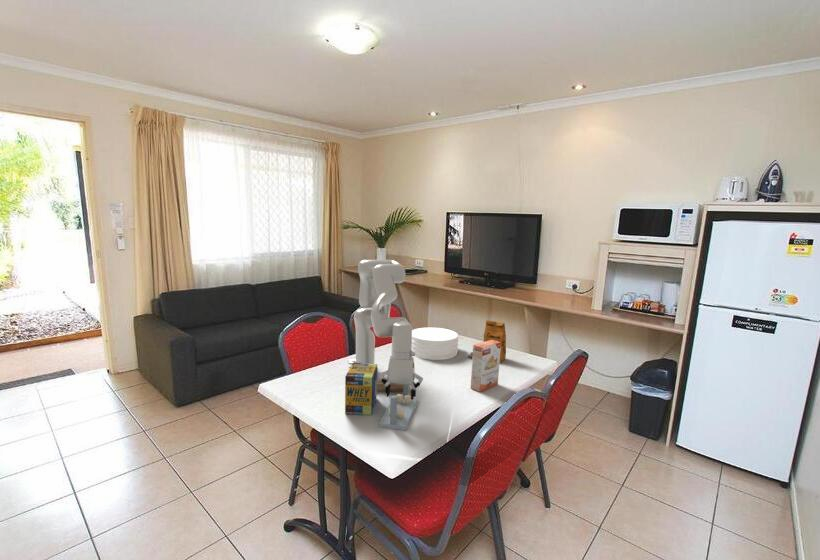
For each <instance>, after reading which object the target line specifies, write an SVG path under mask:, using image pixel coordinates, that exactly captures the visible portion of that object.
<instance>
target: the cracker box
mask: <svg viewBox="0 0 820 560" xmlns="http://www.w3.org/2000/svg"><path fill="white" fill-rule="evenodd" d="M472 346H473V347H472V352H473V359H471V373H470V374H471V375H470V376H471V377H470V389H471V390H474V391H477V392H478V393H481V392H483V391H486V390H488V389H491V388H492V387H495V386H498V384H499V372H500V371H499V370H500V350H501V342H498V341H494V340H489V341H485V342H484V341H482V342H478V343H476V344H473V345H472Z"/></svg>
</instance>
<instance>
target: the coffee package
mask: <svg viewBox="0 0 820 560" xmlns="http://www.w3.org/2000/svg"><path fill="white" fill-rule="evenodd" d="M489 340H494V341H498V342H501V350H500V362H501V363H502V362H505V361H506V358H507V357H506V356H507V335H506V324H505V322H499V321H493V320H487V319H486V320H485V326H484V333H483V342H485V341H489ZM504 360H505V361H504ZM500 362H499V363H500Z"/></svg>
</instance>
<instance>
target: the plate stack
mask: <svg viewBox="0 0 820 560" xmlns="http://www.w3.org/2000/svg"><path fill="white" fill-rule="evenodd" d="M458 338H459V334H458V333H457V331H454V330H451V329H448V328H443V327H418V328H413V329H412V348H411V350H412V352H414V353H415V356H414V357H416V358H420V359H425V360H432V361H439V360H441V361H442V360H449V359H452V358H454V357H456V356H457V355H458V349H459V348H458V346H459V345H458V344H459V339H458Z"/></svg>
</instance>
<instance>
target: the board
mask: <svg viewBox="0 0 820 560" xmlns="http://www.w3.org/2000/svg"><path fill="white" fill-rule="evenodd" d="M386 380H387V381H388V379H386ZM390 385H391V387H390V394H391V393H394V394H395V393H397V394H403V386H404V384H397V383H390ZM410 388H411V386H410V385H409V391H411V389H410ZM385 390H386V387H385V385H384V384H383V382H382V381H381V379H377V393H385Z"/></svg>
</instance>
